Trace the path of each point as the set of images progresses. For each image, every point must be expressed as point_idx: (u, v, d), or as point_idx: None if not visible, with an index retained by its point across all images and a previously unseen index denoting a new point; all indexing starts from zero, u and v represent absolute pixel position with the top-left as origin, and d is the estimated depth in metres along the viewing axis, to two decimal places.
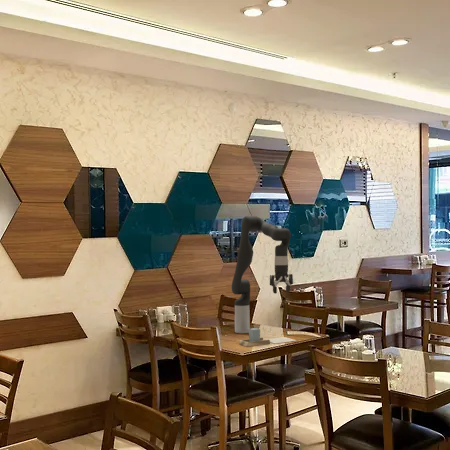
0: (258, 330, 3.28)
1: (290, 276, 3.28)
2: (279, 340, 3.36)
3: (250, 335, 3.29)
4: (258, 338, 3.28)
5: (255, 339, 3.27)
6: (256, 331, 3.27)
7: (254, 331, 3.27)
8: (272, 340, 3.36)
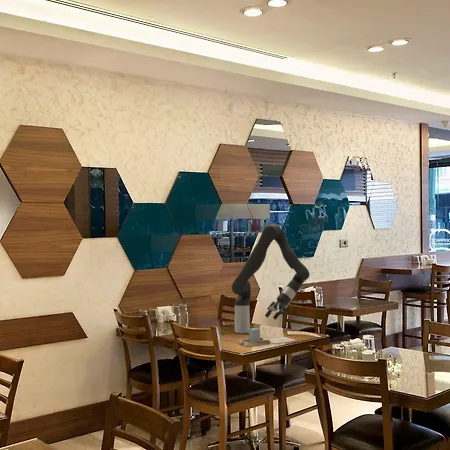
0: (258, 330, 3.28)
1: None
2: (279, 340, 3.36)
3: (250, 335, 3.29)
4: (258, 338, 3.28)
5: (255, 339, 3.27)
6: (256, 331, 3.27)
7: (254, 331, 3.27)
8: (272, 340, 3.36)
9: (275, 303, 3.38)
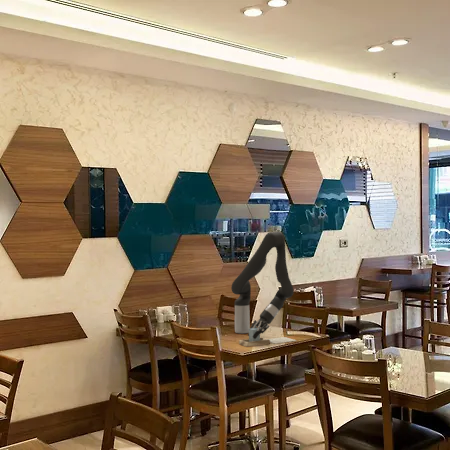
0: None
1: None
2: (279, 340, 3.36)
3: (250, 335, 3.29)
4: (258, 338, 3.28)
5: (255, 339, 3.27)
6: (256, 330, 3.27)
7: (254, 331, 3.27)
8: (272, 340, 3.36)
9: (258, 321, 3.32)
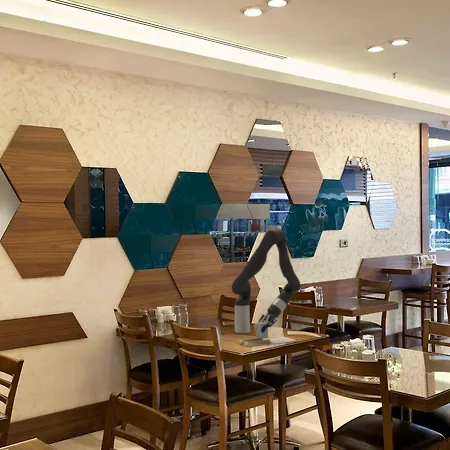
0: None
1: None
2: (279, 340, 3.36)
3: (258, 329, 3.31)
4: (266, 332, 3.30)
5: (263, 333, 3.29)
6: (264, 324, 3.30)
7: (262, 325, 3.29)
8: (272, 340, 3.36)
9: (265, 315, 3.35)
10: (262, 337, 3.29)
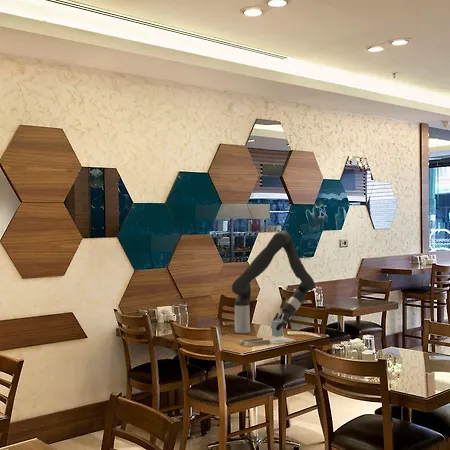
0: None
1: None
2: (279, 340, 3.36)
3: (273, 327, 3.36)
4: (281, 330, 3.35)
5: (278, 331, 3.34)
6: (279, 323, 3.34)
7: (277, 323, 3.34)
8: (272, 340, 3.36)
9: (280, 313, 3.39)
10: (277, 335, 3.34)
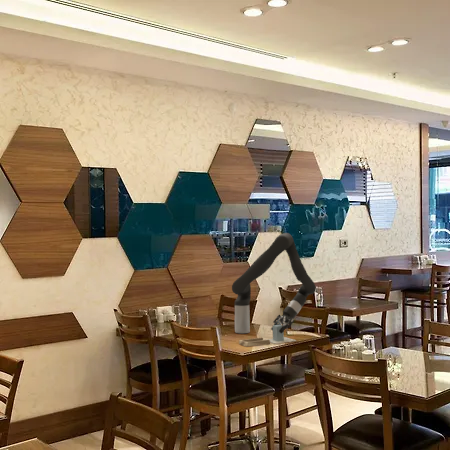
0: None
1: None
2: None
3: (274, 331, 3.36)
4: (282, 334, 3.35)
5: (279, 335, 3.34)
6: (280, 327, 3.35)
7: (278, 328, 3.34)
8: (272, 340, 3.36)
9: (281, 317, 3.40)
10: (278, 340, 3.34)
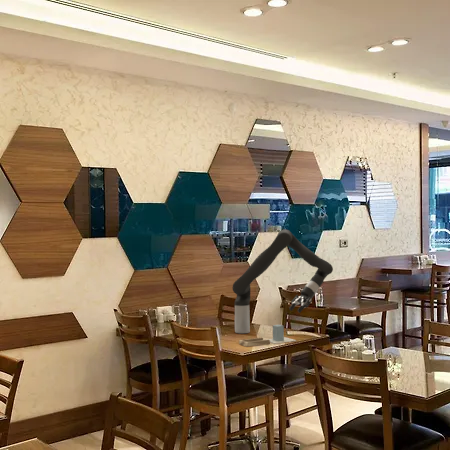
0: (282, 327, 3.35)
1: None
2: None
3: (274, 331, 3.36)
4: (282, 334, 3.35)
5: (279, 335, 3.34)
6: (280, 327, 3.35)
7: (278, 328, 3.34)
8: (272, 340, 3.36)
9: (299, 297, 3.46)
10: (278, 340, 3.34)
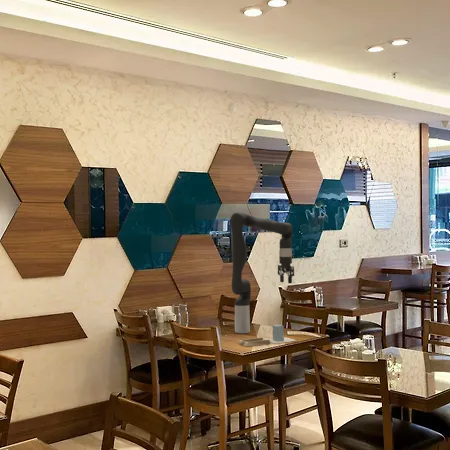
0: (282, 327, 3.35)
1: None
2: None
3: (274, 331, 3.36)
4: (282, 334, 3.35)
5: (279, 335, 3.34)
6: (280, 327, 3.35)
7: (278, 328, 3.34)
8: (272, 340, 3.36)
9: (281, 268, 3.51)
10: (278, 340, 3.34)
